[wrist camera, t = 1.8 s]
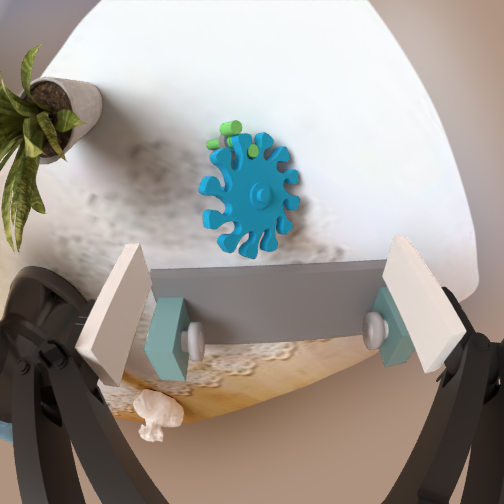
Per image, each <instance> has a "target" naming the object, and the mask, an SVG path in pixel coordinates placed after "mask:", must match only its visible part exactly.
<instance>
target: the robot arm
mask: <svg viewBox="0 0 504 504" xmlns="http://www.w3.org/2000/svg"><path fill="white" fill-rule="evenodd" d="M382 277H383V279H384V281H385V283H386V285H387V287H388V289H389V291H390V293H391V295H392V297H393V299H394V301H395V303H396V306H397V308H398V310H399V312H400V314H401V316H402V319H403V321H404V323H405V325H406V328H407V330H408V332H409V335H410V337H411V339H412V342H413V344H414V347H415V349H416V351H417V354H418V357H419V359H420V362H421V364H422V367H423V369H424V372H425V373H428V372H432V371H436V370H438V369H439V368H440V367H441V365H442V364H443V363H445V366H446V369H445V370H444V371H443V372H442V374H441V375H440V376H439V377H438V378H437V380H436V382H438V381H439V380H440V379H441V382H440V384H439V387H438V391H437V393H436V396H435V399H434V402H433V405H432V407H431V409H430V412H429V415H428V417H427V420H426V422H425V424H424V427H423V429H422V431H421V434H420V436H419V438H418V440H417V443H416V444H415V447H414V449H413V451H412V453H411V455H410V457H409V459H408V461H407V463H406V465H405V467H404V468H403V470H402V472H401V474H400V475H399V477H398V479H397V481H396V482H395V484H394V486H393V487H392V489H391V491H390V493H389V494H388V496H387V497H386V499H385V500H384V501H383V502H382V503H381V504H449V499H450V497H451V495H452V493H453V491H454V489H455V486H456V484H457V482H458V479H459V477H460V475H461V472H462V470H463V467H464V464H465V462H466V459H467V456H468V453H469V450H470V447H471V454H470V460H469V466H468V472H467V477H466V482H465V486H464V491H463V495H462V499H461V503H460V504H504V339H503V340H502V342H501V343H495V342H490V340H489V339H488V338H487V337H486V336H485V335H484V334H482V333H478V332H477V333H476V332H475V330H474V329H473V327H472V325H471V323H470V321H469V320H468V318H467V316H466V314H465V313H464V311H463V310H462V309H461V306H460V304H459V303H458V301H457V299H456V298H455V296H454V295H453V293H452V292H451V291H450V290H448V289H447V288H446V287H441V286H440V285H439V283H438V282H437V280H436V279H435V277H434V276H433V274H432V273H431V271H430V270H429V268H428V267H427V265H426V264H425V262H424V261H423V259H422V258H421V256H420V255H419V253H418V252H417V251H416V249H415V248H414V246H413V245H412V244H411V242H410V241H409V240H408V238H407V237H406V236H394V237H393V241H392V245H391V248H390V252H389V255H388V259H387V262H386V265H385V269H384V272H383V275H382ZM151 286H152V281H151V278H150V275H149V272H148V269H147V265H146V262H145V259H144V256H143V252H142V249H141V246H140V243H136V244H127V245H126V246H125V248H124V250H123V251H122V253H121V255H120V257H119V259H118V260H117V262H116V264H115V266H114V268H113V269H112V271H111V273H110V275H109V277H108V279H107V281H106V283H105V284H104V286H103V288H102V290H101V292H100V294H99V296H98V298H97V300H90V301H89V302H88V303H87V302H86V300H85V299H84V298H83V297H82V295H81V294H80V293H79V292H78V291H77V290H76V289H75V288H74V287H73V286H72V285H71V284H69V283H68V282H67V281H66V280H64V279H63V278H61V277H60V276H58V275H57V274H55V273H53V272H51V271H49V270H46V269H44V268H40V267H34V266H30V267H25V268H23V269H22V270H20V272H19V273H18V274H17V276H16V277H15V278H14V280H13V281H12V283H11V286H10V291H9V294H8V298H7V301H6V305H5V309H4V313H3V317H2V319H1V321H0V438H1V439H3V440H5V441H7V442H9V443H12V444H13V447H14V457H15V465H16V472H17V479H18V484H19V490H20V495H21V499H22V504H86V503H85V500H84V496H83V493H82V490H81V486H80V482H79V478H78V474H77V471H76V466H75V462H74V457H73V452H72V447H71V442H72V444H73V447H74V449H75V451H76V454H77V456H78V458H79V460H80V462H81V464H82V467H83V469H84V471H85V473H86V475H87V477H88V479H89V481H90V482H91V484H92V486H93V488H94V490H95V492H96V493H97V495H98V497H99V499H100V500H101V502H102V504H169V503H168V502H167V500H166V499H165V498H164V496H163V495H162V494H161V492H160V491H159V490H158V488H157V487H156V486H155V484H154V483H153V481H152V480H151V479H150V477H149V476H148V474H147V473H146V471H145V470H144V468H143V467H142V465H141V464H140V463H139V461H138V459H137V458H136V456H135V454H134V453H133V451H132V449H131V448H130V446H129V444H128V443H127V441H126V439H125V438H124V436H123V434H122V432H121V430H120V428H119V427H118V425H117V423H116V421H115V419H114V417H113V415H112V413H111V411H110V409H109V407H108V405H107V403H106V401H105V399H104V397H103V395H102V393H101V391H100V388H99V387H98V386H97V382H98V379H100V380H101V381H102V382H103V384H104V385H109V386H115V387H119V386H120V382H121V379H122V375H123V372H124V368H125V365H126V361H127V358H128V355H129V352H130V348H131V345H132V342H133V339H134V336H135V332H136V329H137V326H138V323H139V320H140V317H141V314H142V312H143V309H144V306H145V303H146V300H147V297H148V294H149V292H150V289H151ZM499 379H500V385H499V381H498V380H499ZM70 440H71V441H70ZM471 445H472V446H471Z"/></svg>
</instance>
